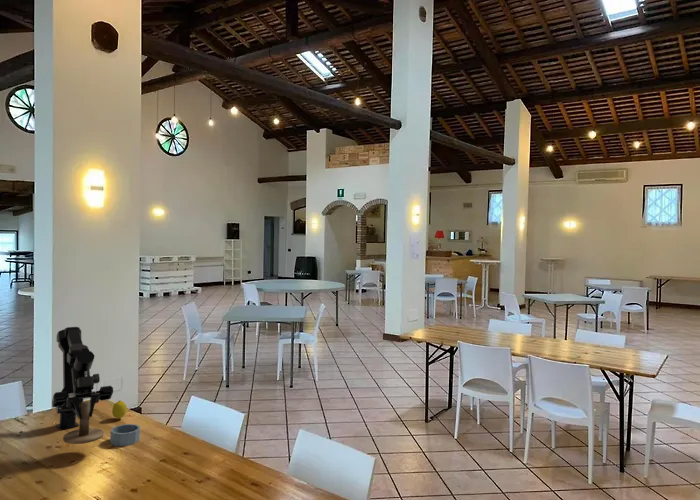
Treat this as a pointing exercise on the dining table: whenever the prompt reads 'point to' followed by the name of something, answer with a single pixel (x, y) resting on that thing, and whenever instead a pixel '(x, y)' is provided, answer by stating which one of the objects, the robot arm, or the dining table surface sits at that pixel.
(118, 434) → the bowl
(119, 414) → the lemon
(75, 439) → the brown peg on base
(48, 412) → the dining table surface
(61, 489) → the dining table surface
